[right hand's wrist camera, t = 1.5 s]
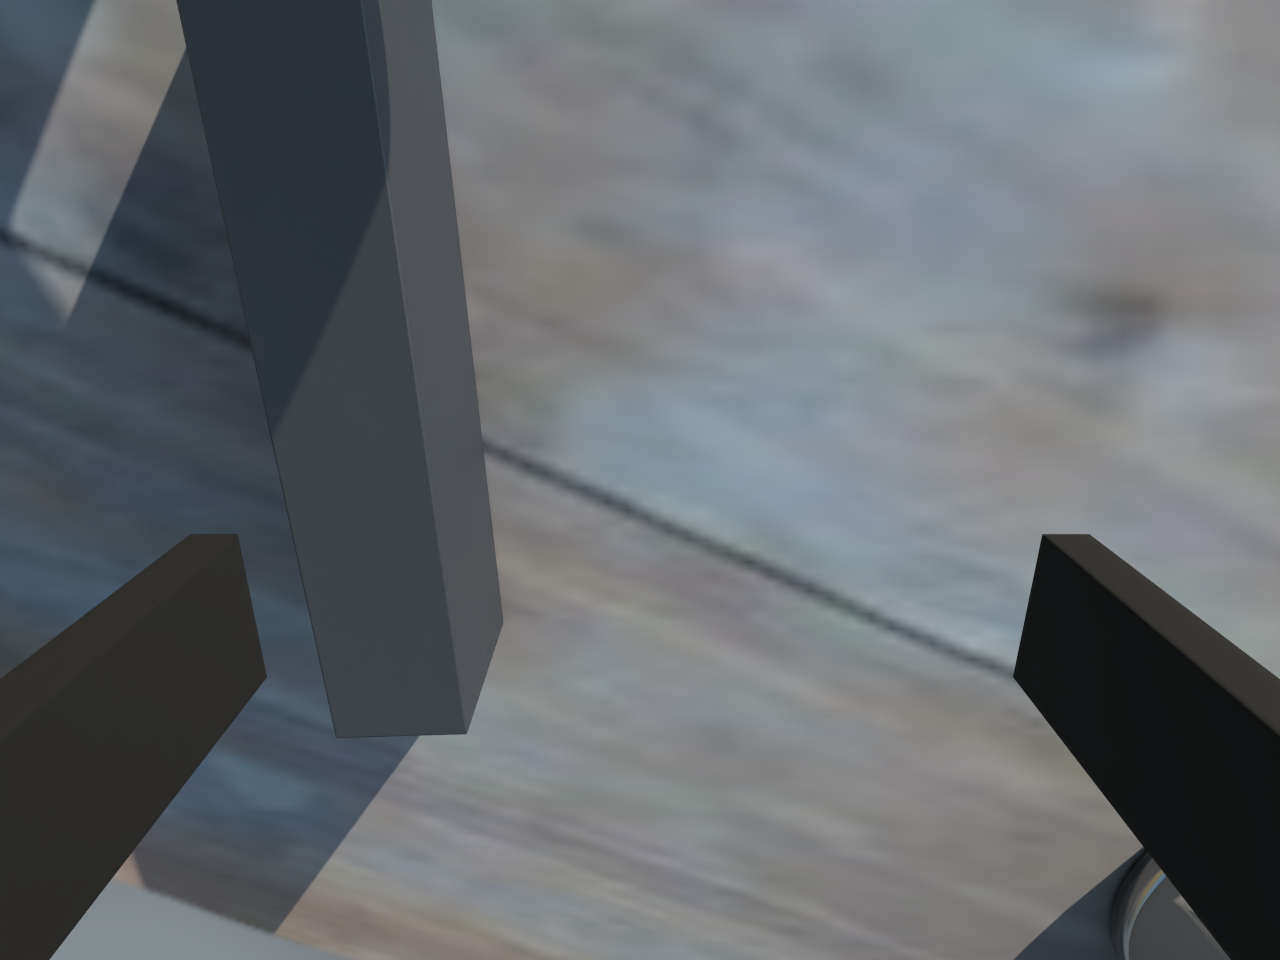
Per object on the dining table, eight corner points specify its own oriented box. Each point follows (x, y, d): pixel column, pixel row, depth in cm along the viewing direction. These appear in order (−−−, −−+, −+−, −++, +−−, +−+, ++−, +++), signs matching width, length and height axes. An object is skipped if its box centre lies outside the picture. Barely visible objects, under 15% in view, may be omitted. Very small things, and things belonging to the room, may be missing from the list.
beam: (503, 623, 36) (467, 735, 29) (399, 626, 36) (335, 738, 29) (414, -152, 26) (320, -295, 18) (267, -145, 26) (113, -285, 18)
